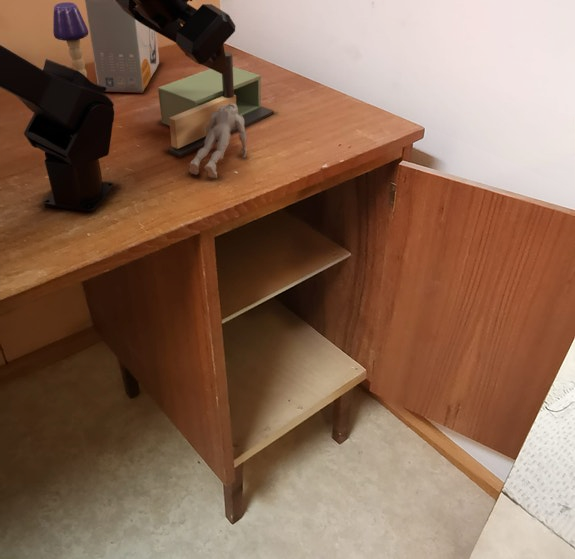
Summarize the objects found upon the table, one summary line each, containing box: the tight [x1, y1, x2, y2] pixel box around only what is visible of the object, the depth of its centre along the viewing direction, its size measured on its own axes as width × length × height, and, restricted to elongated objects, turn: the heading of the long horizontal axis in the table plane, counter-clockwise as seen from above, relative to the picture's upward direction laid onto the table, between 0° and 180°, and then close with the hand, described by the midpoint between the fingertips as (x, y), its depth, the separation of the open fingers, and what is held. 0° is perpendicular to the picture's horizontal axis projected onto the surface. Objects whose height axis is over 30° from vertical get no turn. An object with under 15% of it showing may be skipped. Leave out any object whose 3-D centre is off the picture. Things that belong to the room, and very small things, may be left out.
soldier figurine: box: [188, 103, 248, 179], centre depth 82 cm, size 6×5×12 cm
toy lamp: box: [52, 2, 89, 78], centre depth 87 cm, size 5×5×17 cm
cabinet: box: [157, 66, 275, 158], centre depth 91 cm, size 20×10×6 cm, turn 141°
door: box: [169, 51, 236, 149], centre depth 85 cm, size 12×2×10 cm, turn 141°
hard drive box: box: [84, 0, 160, 94], centre depth 101 cm, size 16×8×20 cm, turn 179°
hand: (205, 57), depth 82 cm, fingers open, 9 cm apart
